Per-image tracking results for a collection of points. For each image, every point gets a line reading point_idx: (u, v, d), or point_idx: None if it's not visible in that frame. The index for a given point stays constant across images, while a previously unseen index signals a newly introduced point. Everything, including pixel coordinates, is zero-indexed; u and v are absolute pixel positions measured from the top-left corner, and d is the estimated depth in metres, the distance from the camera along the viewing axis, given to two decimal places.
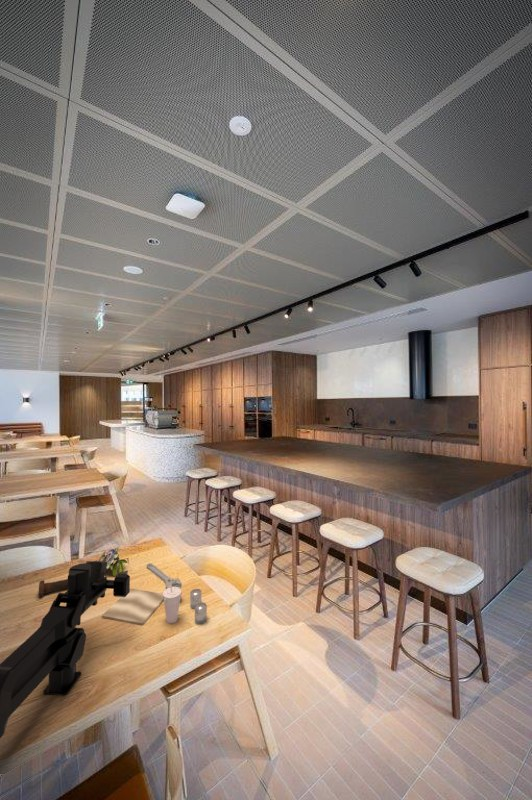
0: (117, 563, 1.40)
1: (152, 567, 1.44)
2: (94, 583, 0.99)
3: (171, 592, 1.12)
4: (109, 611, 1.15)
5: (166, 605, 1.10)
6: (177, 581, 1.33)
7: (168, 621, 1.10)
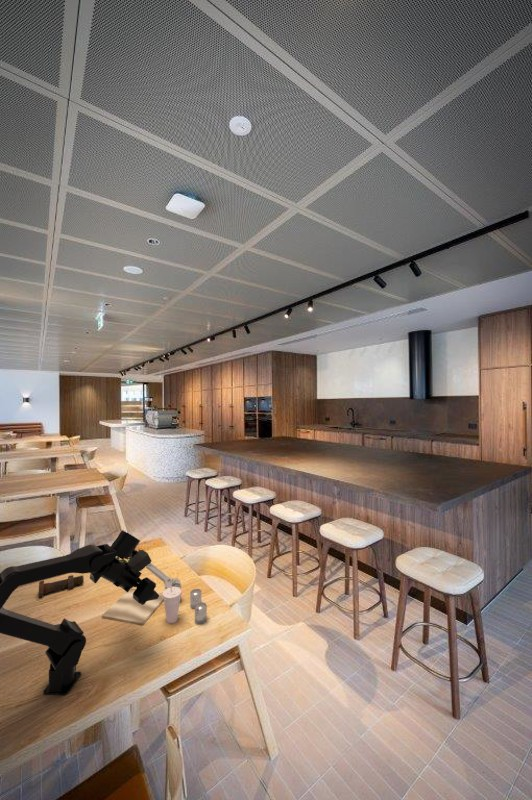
0: None
1: (152, 567, 1.44)
2: (130, 566, 0.99)
3: (171, 592, 1.12)
4: (109, 611, 1.15)
5: (166, 605, 1.10)
6: (176, 581, 1.33)
7: (168, 621, 1.10)
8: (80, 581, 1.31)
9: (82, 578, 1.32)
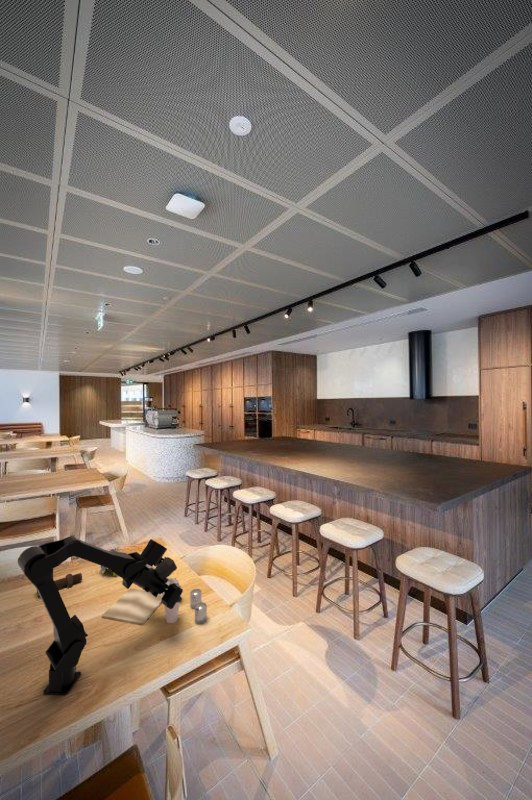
0: None
1: (149, 567, 1.44)
2: (158, 572, 1.06)
3: None
4: (109, 611, 1.15)
5: None
6: (175, 581, 1.33)
7: (168, 621, 1.10)
8: (79, 578, 1.33)
9: (81, 575, 1.34)
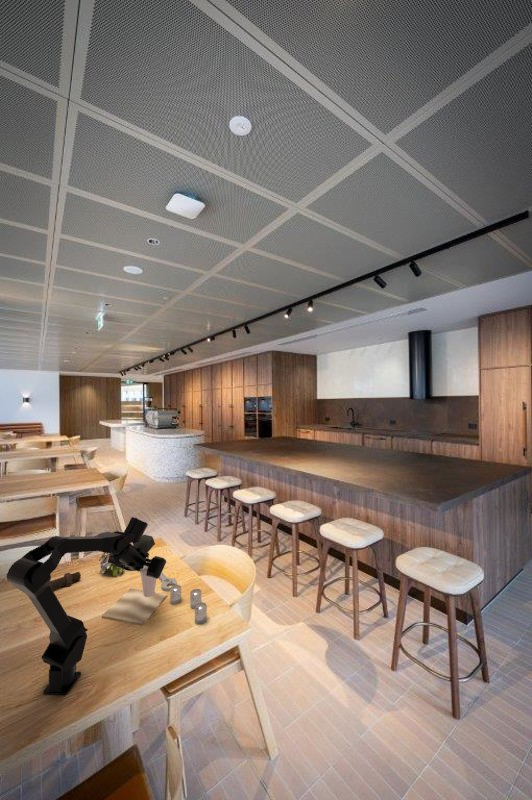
0: None
1: None
2: None
3: None
4: (109, 611, 1.15)
5: (145, 580, 1.15)
6: (173, 581, 1.33)
7: (146, 595, 1.15)
8: (78, 577, 1.34)
9: (79, 574, 1.35)
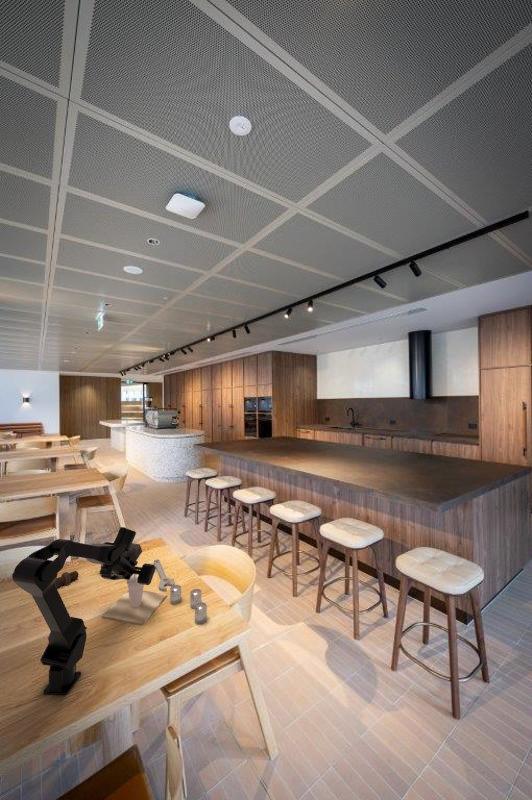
0: None
1: (157, 563, 1.47)
2: (129, 557, 1.12)
3: (136, 578, 1.18)
4: (109, 611, 1.15)
5: (133, 591, 1.16)
6: (171, 582, 1.32)
7: (134, 606, 1.17)
8: (76, 576, 1.35)
9: (77, 573, 1.36)
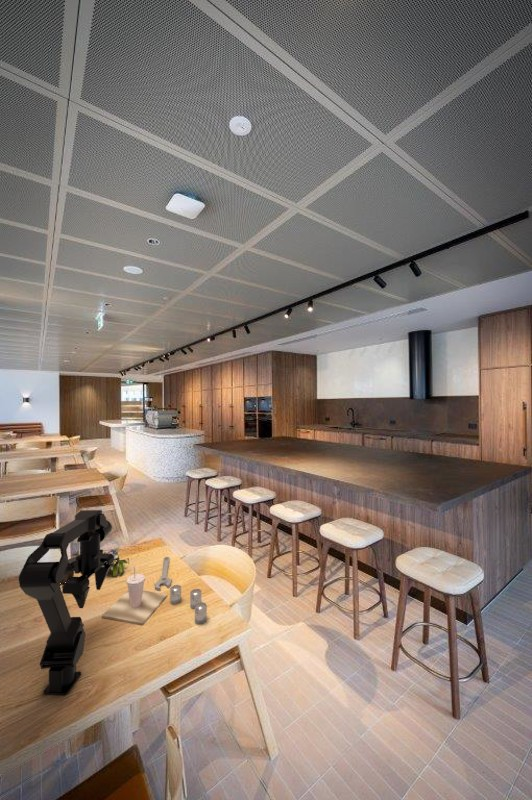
0: (117, 563, 1.40)
1: (166, 561, 1.49)
2: None
3: (135, 578, 1.18)
4: (109, 611, 1.15)
5: (133, 591, 1.16)
6: (168, 582, 1.32)
7: (134, 606, 1.17)
8: (72, 574, 1.36)
9: None
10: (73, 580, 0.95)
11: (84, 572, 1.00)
